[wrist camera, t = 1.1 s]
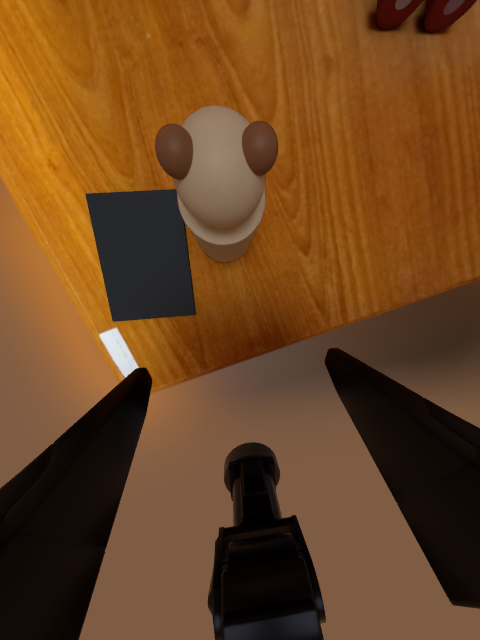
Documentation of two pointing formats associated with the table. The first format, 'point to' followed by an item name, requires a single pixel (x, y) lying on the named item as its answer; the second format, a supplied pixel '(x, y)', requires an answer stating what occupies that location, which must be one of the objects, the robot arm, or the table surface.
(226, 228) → the bear
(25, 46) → the table surface
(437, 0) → the toy fire truck
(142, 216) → the mat
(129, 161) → the table surface
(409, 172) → the table surface
